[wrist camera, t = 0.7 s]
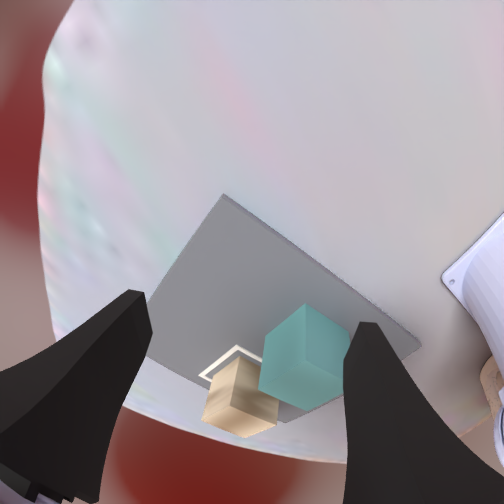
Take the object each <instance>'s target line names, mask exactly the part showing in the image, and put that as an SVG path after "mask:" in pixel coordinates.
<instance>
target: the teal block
mask: <svg viewBox="0 0 504 504" xmlns="http://www.w3.org/2000/svg"><path fill="white" fill-rule="evenodd" d="M349 346H350V338H349V332H348V331H347V330H345V329H344V328H342V327H341V326H339V325H338V324H336V323H335V322H333V321H332V320H330V319H329V318H327V317H326V316H324V315H323V314H321V313H320V312H318V311H317V310H315V309H313V308H312V307H310V306H309V305H307V304H306V303H305V304H304V305H302V306H301V307H300V308H299V309H298V310H296V311H295V312H294V313H293V314H292V315H290V316H289V317H288V318H287V319H286V320H284V321H283V322H282V323H281V324H280V325H278V326H277V327H276V328H275V329H273V330H272V331H271V332H270V333H268V334H267V335H266V336H265V343H264V350H263V358H262V365H261V372H260V379H259V386H258V390H260V391H262V392H264V393H266V394H268V395H271V396H273V397H275V398H277V399H279V400H282V401H284V402H286V403H289V404H291V405H293V406H296V407H298V408H300V409H303V410H305V411H309V410H311V409H313V408H315V407H317V406H319V405H321V404H323V403H325V402H327V401H329V400H331V399H333V398H335V397H337V396H338V395H340V394H342V393H343V360H344V358H345V355H346V353H347V351H348V349H349Z"/></svg>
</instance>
